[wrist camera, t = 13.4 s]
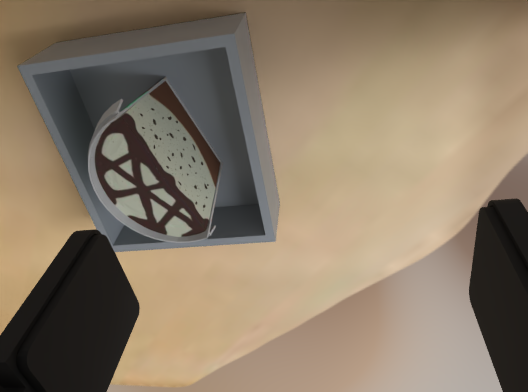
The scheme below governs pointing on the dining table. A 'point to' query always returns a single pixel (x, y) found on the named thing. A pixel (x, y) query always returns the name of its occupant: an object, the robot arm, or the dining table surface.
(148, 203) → the food container
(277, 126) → the dining table surface
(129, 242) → the crate
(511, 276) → the robot arm
